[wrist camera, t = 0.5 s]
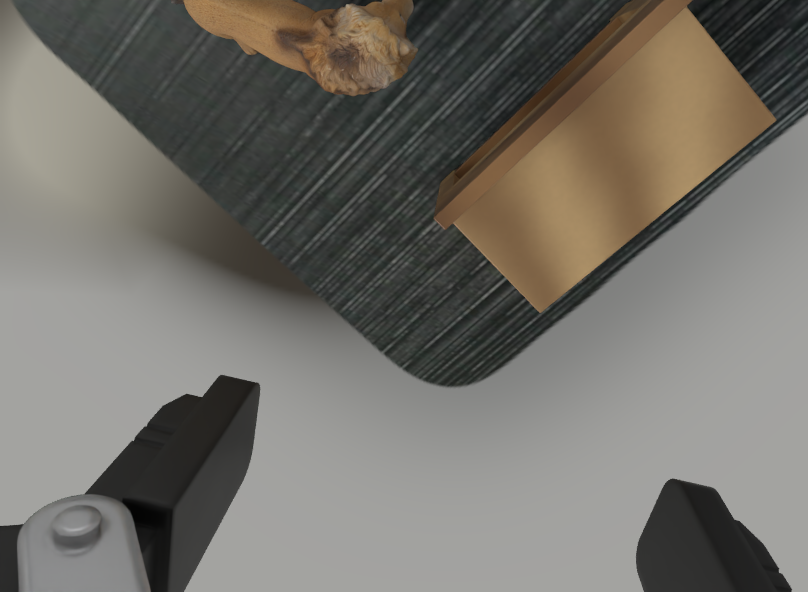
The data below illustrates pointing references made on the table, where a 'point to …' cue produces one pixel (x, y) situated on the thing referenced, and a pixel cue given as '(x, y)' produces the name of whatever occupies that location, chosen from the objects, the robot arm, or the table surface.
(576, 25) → the table surface
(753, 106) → the bench
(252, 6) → the lion figurine
